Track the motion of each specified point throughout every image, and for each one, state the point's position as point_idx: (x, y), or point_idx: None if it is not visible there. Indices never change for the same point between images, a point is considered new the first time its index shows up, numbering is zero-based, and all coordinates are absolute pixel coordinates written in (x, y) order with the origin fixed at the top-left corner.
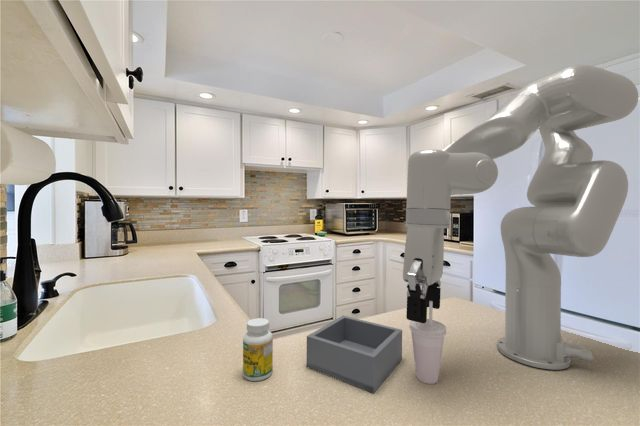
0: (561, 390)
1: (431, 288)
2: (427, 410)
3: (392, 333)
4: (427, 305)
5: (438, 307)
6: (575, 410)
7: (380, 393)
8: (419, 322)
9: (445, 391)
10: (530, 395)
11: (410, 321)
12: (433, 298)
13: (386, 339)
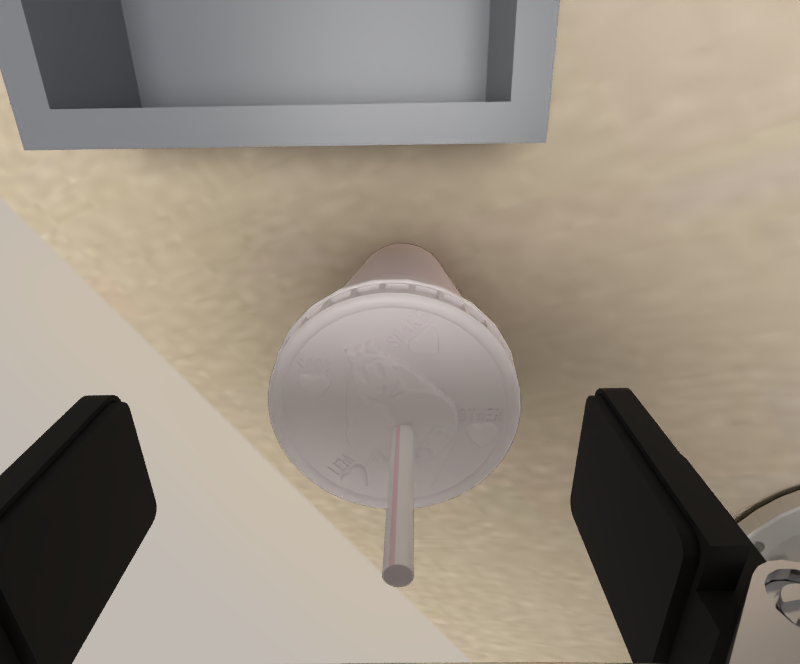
0: (575, 614)
1: (661, 620)
2: (200, 338)
3: (435, 103)
4: (586, 435)
5: (576, 515)
6: (481, 627)
7: (160, 161)
8: (385, 366)
9: None
10: (495, 557)
11: (381, 298)
12: (606, 539)
13: (305, 109)
